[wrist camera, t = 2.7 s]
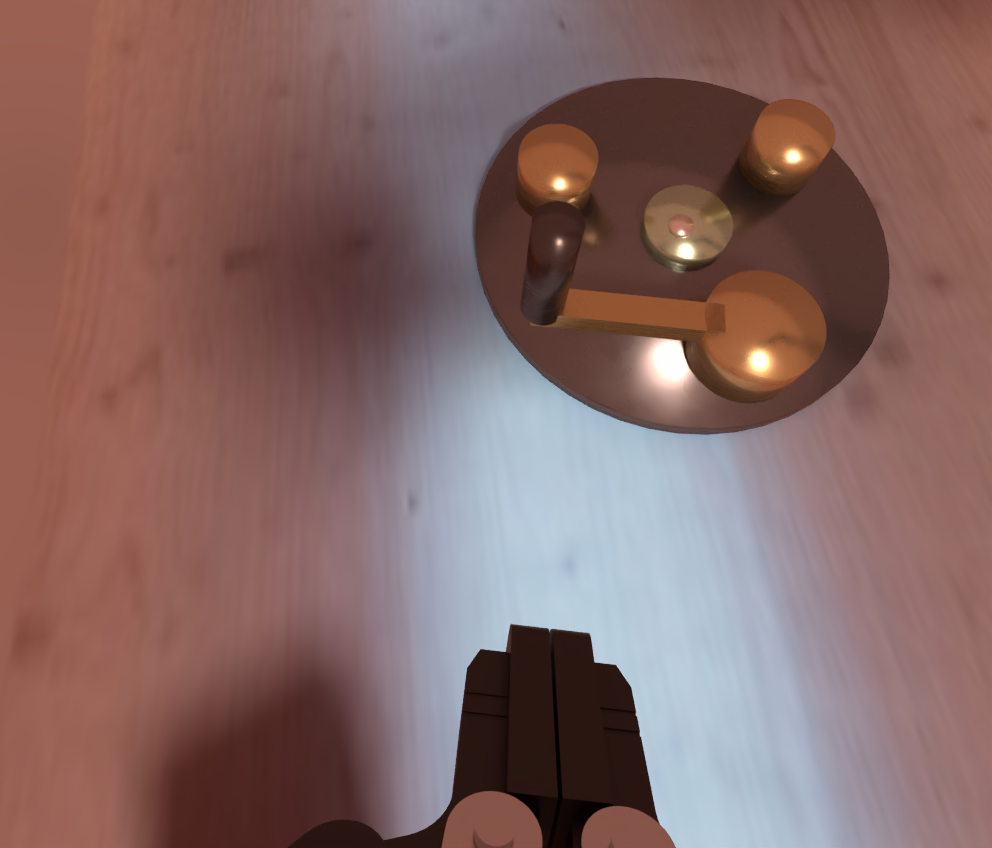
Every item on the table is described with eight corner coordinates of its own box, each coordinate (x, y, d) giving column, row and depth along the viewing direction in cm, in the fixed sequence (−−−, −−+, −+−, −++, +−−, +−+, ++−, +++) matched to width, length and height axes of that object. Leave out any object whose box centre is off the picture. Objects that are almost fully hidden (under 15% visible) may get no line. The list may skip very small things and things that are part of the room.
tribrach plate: (802, 74, 45) (832, 19, 41) (943, 400, 37) (997, 369, 33) (448, 110, 43) (446, 55, 39) (514, 465, 35) (520, 440, 31)
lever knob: (793, 308, 37) (890, 197, 28) (800, 409, 35) (908, 321, 26) (521, 281, 37) (537, 162, 28) (512, 380, 35) (526, 283, 26)
